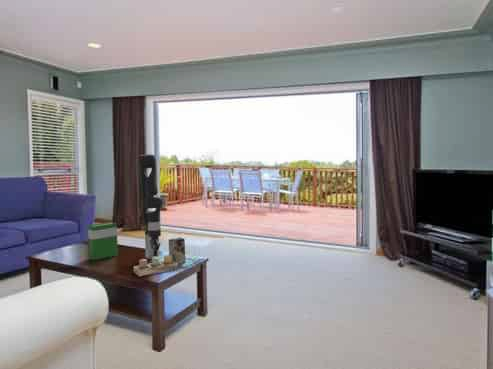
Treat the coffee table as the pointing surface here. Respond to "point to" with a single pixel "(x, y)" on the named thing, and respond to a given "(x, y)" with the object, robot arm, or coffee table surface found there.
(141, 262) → the button terracotta
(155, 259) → the button sage
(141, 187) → the robot arm
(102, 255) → the green banded box
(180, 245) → the coffee box
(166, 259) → the button ochre
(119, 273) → the coffee table surface
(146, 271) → the button board
